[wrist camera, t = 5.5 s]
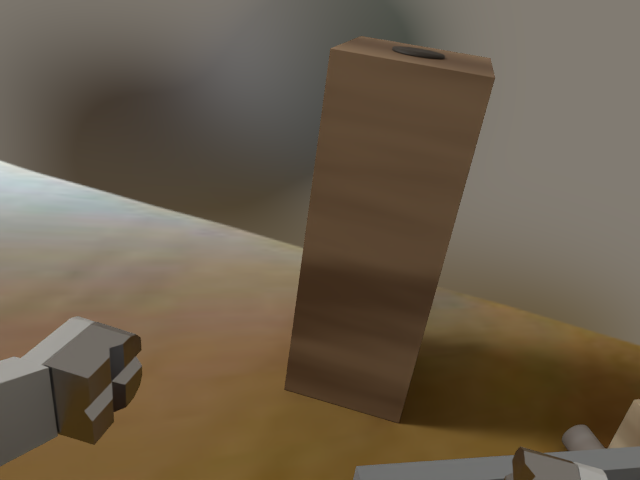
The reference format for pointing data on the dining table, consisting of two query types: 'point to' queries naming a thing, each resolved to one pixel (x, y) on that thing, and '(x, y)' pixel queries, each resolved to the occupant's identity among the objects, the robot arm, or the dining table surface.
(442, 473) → the tray
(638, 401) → the block
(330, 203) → the block
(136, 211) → the dining table surface
